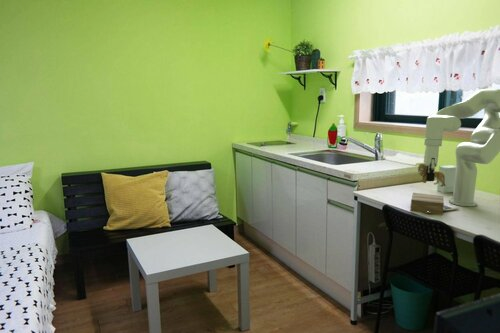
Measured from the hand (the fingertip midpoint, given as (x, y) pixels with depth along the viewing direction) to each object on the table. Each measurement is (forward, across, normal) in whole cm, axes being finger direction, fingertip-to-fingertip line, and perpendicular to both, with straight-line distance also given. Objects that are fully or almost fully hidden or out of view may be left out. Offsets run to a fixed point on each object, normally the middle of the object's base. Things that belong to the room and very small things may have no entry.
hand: (429, 179), depth 187 cm
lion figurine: (+2, +1, 0) cm, 2 cm away
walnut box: (+15, 0, 0) cm, 15 cm away
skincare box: (+15, -39, +15) cm, 45 cm away
